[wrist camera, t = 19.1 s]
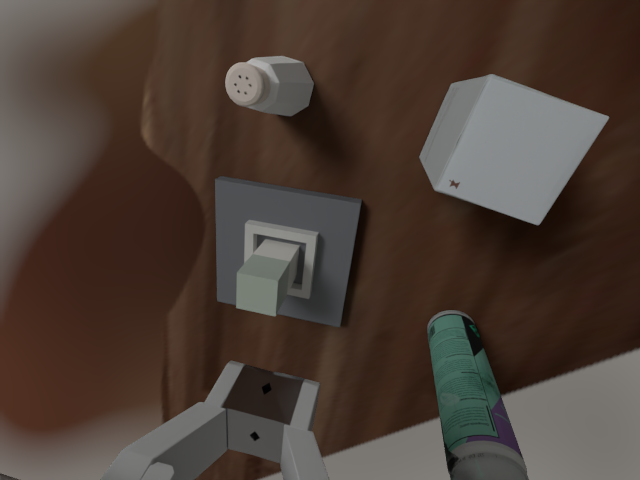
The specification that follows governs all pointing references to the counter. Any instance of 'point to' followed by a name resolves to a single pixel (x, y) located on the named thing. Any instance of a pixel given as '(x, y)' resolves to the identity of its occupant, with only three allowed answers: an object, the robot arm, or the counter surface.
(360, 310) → the counter surface
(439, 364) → the spray can
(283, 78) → the pepper shaker
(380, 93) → the counter surface
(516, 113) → the supplement box
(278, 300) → the block stack
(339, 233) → the square peg socket board
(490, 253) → the counter surface
